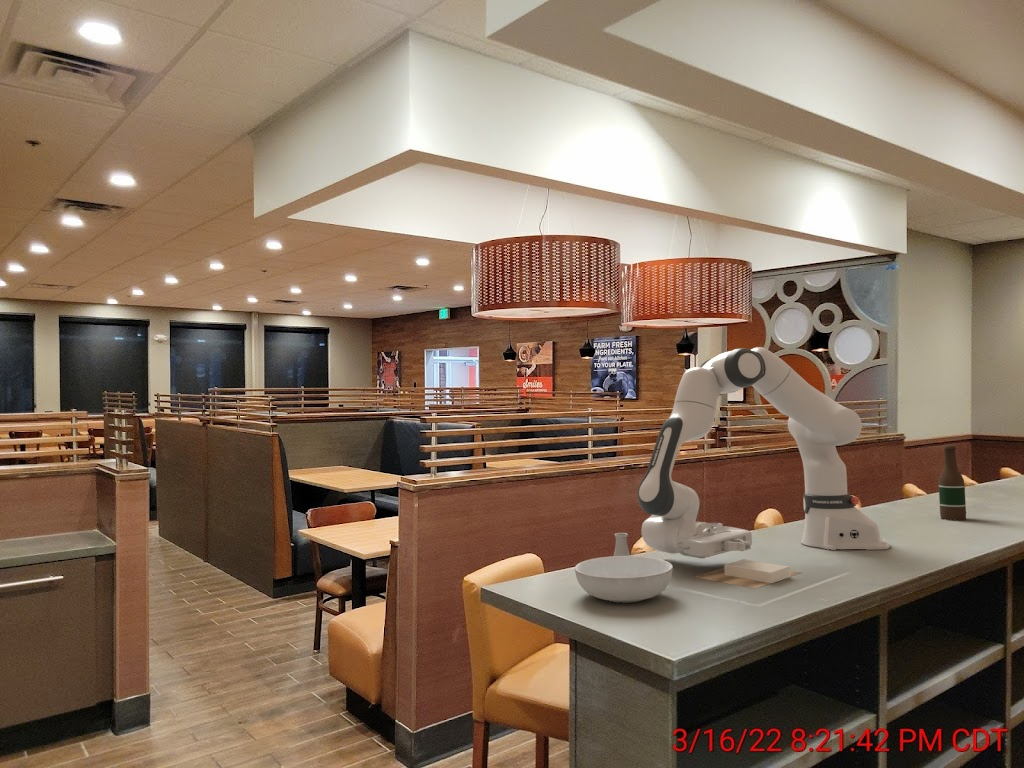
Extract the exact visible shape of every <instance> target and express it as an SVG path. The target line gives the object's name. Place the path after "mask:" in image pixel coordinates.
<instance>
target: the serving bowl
mask: <svg viewBox="0 0 1024 768" xmlns="http://www.w3.org/2000/svg"><path fill="white" fill-rule="evenodd" d="M673 569H674V568H673V564H672V563H671V562H670V561H666V560H664V559H661V558H657V557H649V556H639V555H630V556H611V555H610V556H603V557H596V558H590V559H587V560H584V561H581V562H579V563H577V564H576V565H575V566H574V572H575V577H576V580H577V583H578V584H579V586H580V587H581V588H582V589H583V590H584V591H585V592H586V593H587V594H588V595H591V596H592V597H595V598H597V599H601V600H605V601H608V600H609V602H612V601H613V602H612V603H619V602H622V603H621V604H623V603H624V604H629V603H630V602H631V603H636V602H641V601H644V600H648V599H651V598H654V597H657V596H658V595H660V594H661V593H662V592H663V591H665V590H666V589H667V587H668V586H669V584H670V582H671V581H672V576H673Z"/></svg>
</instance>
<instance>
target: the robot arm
mask: <svg viewBox="0 0 1024 768" xmlns="http://www.w3.org/2000/svg"><path fill="white" fill-rule="evenodd" d="M748 387H753V388H754V390H755V391H756V392H757V393H759V394H760V395H761V396H762V397H763V398H764V399H765V400H766V401H767V402H768V403H769V404H770V405H771V406H773V408H774V409H775V410H777V411H778V412H779V413H780V414H782V415H784V416H787V417H788V420H787V429H788V432H789V433H790V435H791V437H793V438H794V440H795V443H796V445H797V447H798V451H799V454H800V457H801V461H802V466H803V476H804V477H803V478H804V479H803V480H804V492H803V498H802V499H803V512H804V514H805V516H804V526H803V527H804V528H803V533H802V537H801V540H800V543H801V544H802V545H806V546H809V547H815V548H820V549H826V550H829V549H831V550H830V551H837V550H836V549H866V550H887V549H889V548H890V546H891V545H890V542H889V541H888V540H887V539H885V538H882V537H881V533H880V529H879V526H878V524H877V523H876V522H875V520H873V519H872V518H871V517H869V516H868V515H866V513H864V512H862V511H861V510H860V509H858V508H857V507H856V506H857V505H859V503H860V499H859V497H857V496H853V495H851V494H850V493H848V478H847V477H848V476H847V475H848V474H847V466H846V464H845V463H844V461H843V460H842V459H841V457H840V455H839V453H838V450H837V447H836V446H843V445H847V444H850V443H853V442H854V441H856V440H857V439H858V438H859V437H860V435H861V432H862V427H863V426H862V425H863V423H862V419H861V417H860V416H859V414H858V413H857V412H855V411H854V410H852V409H850V408H849V407H846V406H844V405H842V404H840V403H839V402H837V401H835V400H834V399H832V398H831V397H830V396H828V395H827V394H825V393H823V392H822V391H820V390H818V389H817V388H815V386H812V385H811V384H810V383H808V381H806V380H805V379H804V378H803V377H802V376H801V375H800V374H798V372H796V370H794V369H793V368H792V367H791V366H790V365H789V364H788V363H787V362H785V361H784V359H782V358H780V357H779V356H778V355H776V354H775V353H773V352H772V351H770V350H769V349H767V348H765V347H763V346H756V347H753V348H751V349H749V348H742V347H741V348H735V349H733V350H729V351H725V352H722V353H720V354H718V355H716V356H715V357H712V358H709V359H707V360H705V361H704V362H702V364H701V365H700V366H699V367H697V366H696V367H692V368H689V369H687V370H685V371H684V373H683V374H682V376H681V379H680V382H679V384H678V387H677V390H676V394H675V397H674V403H673V407H672V411H671V414H670V416H669V418H667V419H665V421H664V423H662V426H661V428H660V430H659V433H658V435H657V438H656V441H655V445H654V448H653V451H652V454H651V457H650V460H649V463H648V466H647V469H646V471H645V474H644V476H643V478H642V480H641V481H640V483H639V486H638V488H637V496H636V497H637V501H638V505H639V507H640V508H641V509H640V510H642V511H643V512H644V513H646V514H648V515H650V516H649V517H648V518H645V520H644V521H643V523H642V524H641V525H642V526H641V538H642V539H643V541H644V543H645V544H646V545H647V546H648V547H649V548H651V549H652V550H655V551H658V552H663V553H665V554H666V553H667V554H672V555H673V554H674V555H675V554H680V555H682V556H685V557H690V558H697V559H706V558H710V557H713V556H717V555H721V554H724V553H725V554H726V553H728V552H732V551H735V552H736V551H739V552H745V551H749V550H751V549H752V545H753V539H752V532H751V531H749V530H748V529H743V528H740V527H739V528H738V527H733V526H726V525H724V524H723V523H720V522H704V521H697V520H698V517H699V516H698V515H699V512H700V507H701V500H700V496H699V494H698V493H697V492H696V490H695V489H693V488H692V487H689V486H687V485H685V484H682V483H681V482H680V483H679V482H677V481H674V480H673V479H672V473H673V468H674V466H675V462H676V459H677V455H678V452H679V449H680V447H682V445H683V444H684V443H686V442H689V441H696V440H699V439H702V438H704V437H705V436H707V435H708V434H709V433H710V432H711V430H712V428H713V425H714V423H715V422H714V421H715V418H716V417H715V416H716V411H717V404H718V399H719V396H722V395H726V394H731V393H736V392H738V391H739V390H740V391H741V390H743V389H745V388H748ZM723 525H724V526H723Z"/></svg>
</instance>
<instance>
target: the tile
mask: <svg viewBox="0 0 1024 768" xmlns="http://www.w3.org/2000/svg"><path fill="white" fill-rule="evenodd" d="M723 568H725V575H727V576H733V577H738V578H744V579H749V580H755V581H760V582H766V583H770V584H774V583H777V582H780V581H783V580H787V579H789V578H791V577H790V571H791V570H790V566H788V565H780V564H775V563H770V562H761V561H756V560H749V559H740V560H737V561H732V562H729V563H726V564H724V567H723Z"/></svg>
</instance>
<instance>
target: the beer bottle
mask: <svg viewBox="0 0 1024 768" xmlns="http://www.w3.org/2000/svg"><path fill="white" fill-rule="evenodd" d="M942 449H943V450H944V459H943V460H944V464H943V470H942V472H941V473H940V475H939V478H938V496H939V497H938V500H939V513H940V518H941V520H944V519H946V520H945V521H957V522H958V521H966V520H967V519H966V518H967V507H966V506H967V505H966V503H967V502H966V486H965V479H964V477H963V475H962V474H961V472H960V471H959V467H958V464H957V457H956V456H957V455H956V450H957V448H956V445H953V444H952V445H950V444H949V445H947V444H946V445H944V446H943V448H942Z"/></svg>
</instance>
